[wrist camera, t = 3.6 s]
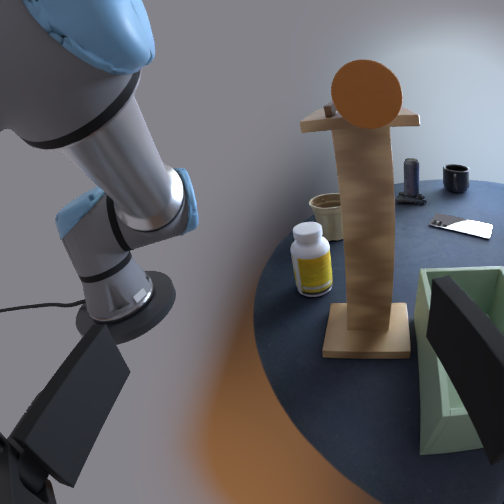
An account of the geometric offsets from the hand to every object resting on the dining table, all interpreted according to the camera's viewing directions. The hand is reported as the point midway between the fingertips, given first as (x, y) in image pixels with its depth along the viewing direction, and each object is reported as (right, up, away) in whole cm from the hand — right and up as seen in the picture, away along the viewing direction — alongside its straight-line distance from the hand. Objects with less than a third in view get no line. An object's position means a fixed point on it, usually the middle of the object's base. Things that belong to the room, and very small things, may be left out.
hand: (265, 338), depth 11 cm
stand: (+16, -8, +30) cm, 35 cm away
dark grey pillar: (+44, +17, +67) cm, 82 cm away
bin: (+27, -12, +18) cm, 35 cm away
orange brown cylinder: (+8, +15, +12) cm, 21 cm away
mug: (+62, +22, +67) cm, 94 cm away
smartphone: (+49, +9, +49) cm, 70 cm away
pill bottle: (+11, -3, +43) cm, 44 cm away
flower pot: (+18, +7, +58) cm, 61 cm away
